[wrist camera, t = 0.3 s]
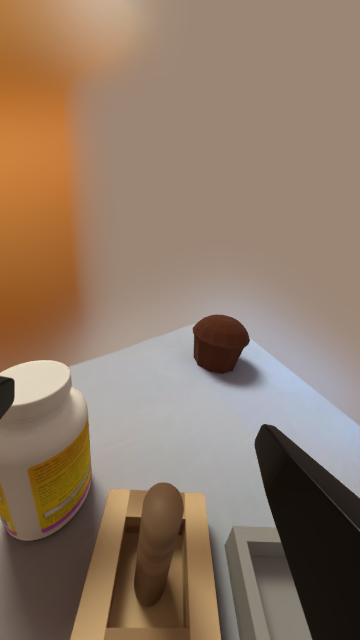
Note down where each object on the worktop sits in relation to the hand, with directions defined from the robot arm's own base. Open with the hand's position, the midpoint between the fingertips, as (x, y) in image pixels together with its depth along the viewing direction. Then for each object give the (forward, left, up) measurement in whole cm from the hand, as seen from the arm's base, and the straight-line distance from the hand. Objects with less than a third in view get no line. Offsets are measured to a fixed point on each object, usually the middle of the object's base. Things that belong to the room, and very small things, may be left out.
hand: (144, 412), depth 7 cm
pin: (+1, -1, -16) cm, 16 cm away
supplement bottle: (+6, +8, -17) cm, 20 cm away
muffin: (+31, -12, -17) cm, 37 cm away
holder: (+1, -1, -17) cm, 17 cm away
